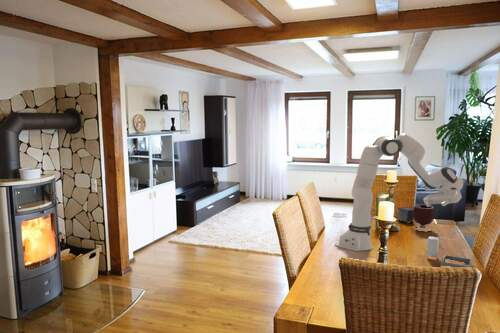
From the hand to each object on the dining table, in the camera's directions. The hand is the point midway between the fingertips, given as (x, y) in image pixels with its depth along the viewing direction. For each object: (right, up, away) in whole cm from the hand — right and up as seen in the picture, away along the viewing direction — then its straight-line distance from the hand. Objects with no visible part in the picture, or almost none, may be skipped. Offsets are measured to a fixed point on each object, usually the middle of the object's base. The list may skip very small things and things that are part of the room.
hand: (435, 205), depth 226 cm
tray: (+5, -32, -14) cm, 35 cm away
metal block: (-2, -30, -1) cm, 30 cm away
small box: (+15, -21, +80) cm, 84 cm away
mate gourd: (+17, -24, +57) cm, 64 cm away
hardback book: (-7, -23, +65) cm, 69 cm away
